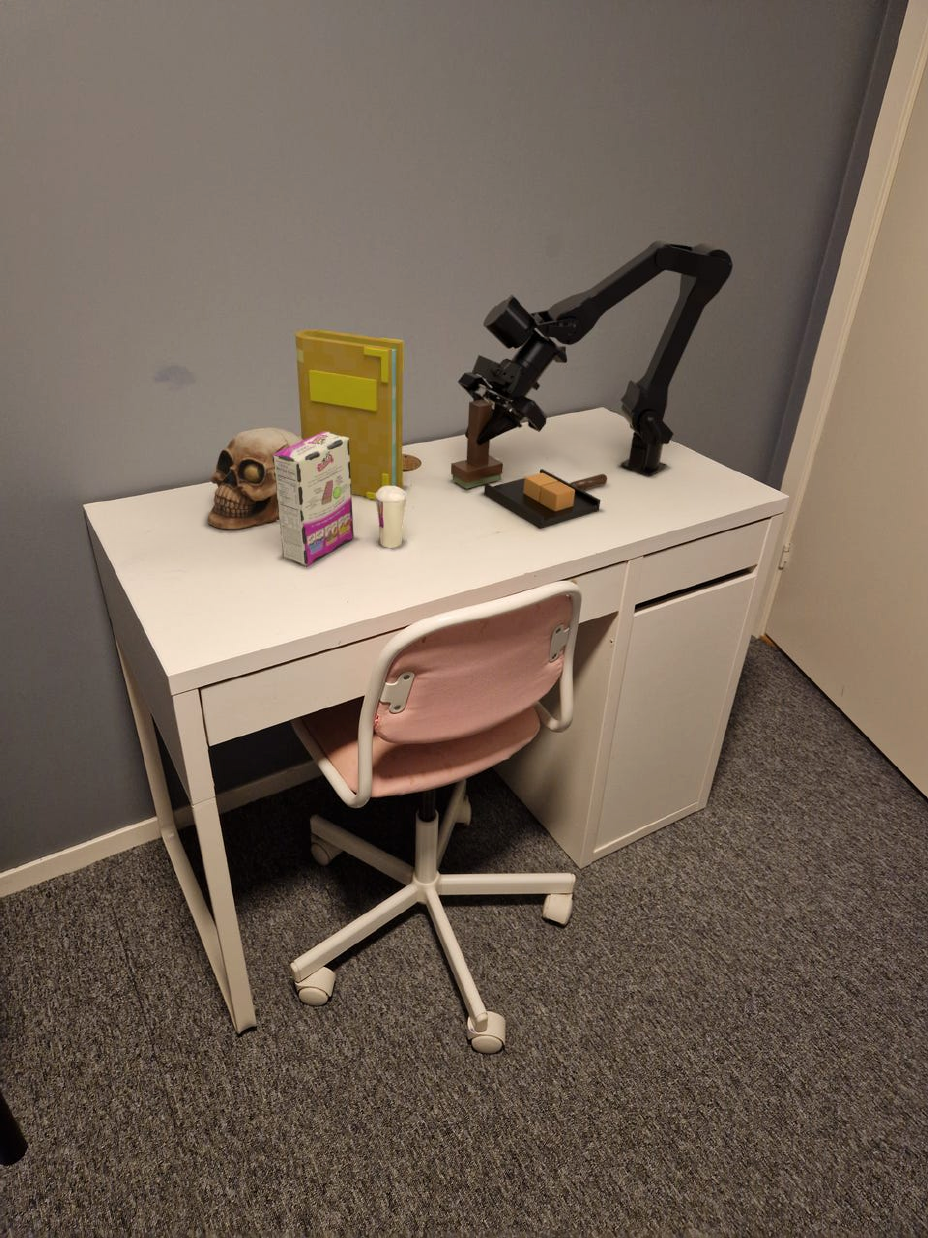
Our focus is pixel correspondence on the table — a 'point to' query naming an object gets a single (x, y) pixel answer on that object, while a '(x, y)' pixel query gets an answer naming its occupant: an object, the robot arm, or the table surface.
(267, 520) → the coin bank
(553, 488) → the orange square block
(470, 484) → the scrub brush
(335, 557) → the table surface
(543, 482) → the block
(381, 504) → the milkshake
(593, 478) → the griddle
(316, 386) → the book
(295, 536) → the candy bar box
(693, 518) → the table surface
